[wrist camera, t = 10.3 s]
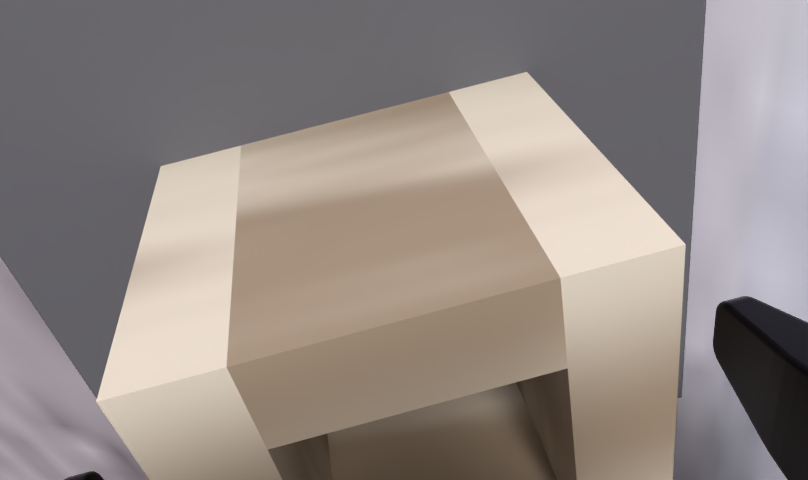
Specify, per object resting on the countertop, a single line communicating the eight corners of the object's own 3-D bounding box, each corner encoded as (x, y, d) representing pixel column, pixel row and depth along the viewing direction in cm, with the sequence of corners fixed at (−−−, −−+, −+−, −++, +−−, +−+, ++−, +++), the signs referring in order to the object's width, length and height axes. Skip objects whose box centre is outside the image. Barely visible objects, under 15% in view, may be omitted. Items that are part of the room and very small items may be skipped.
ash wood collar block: (552, 339, 14) (668, 561, 10) (275, 414, 14) (280, 670, 10) (527, 71, 11) (684, 245, 7) (160, 166, 11) (96, 402, 7)
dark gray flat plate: (673, 385, 16) (681, 397, 16) (188, 516, 16) (187, 531, 16) (702, -191, 10) (717, -191, 9) (-142, 17, 9) (-157, 26, 9)
